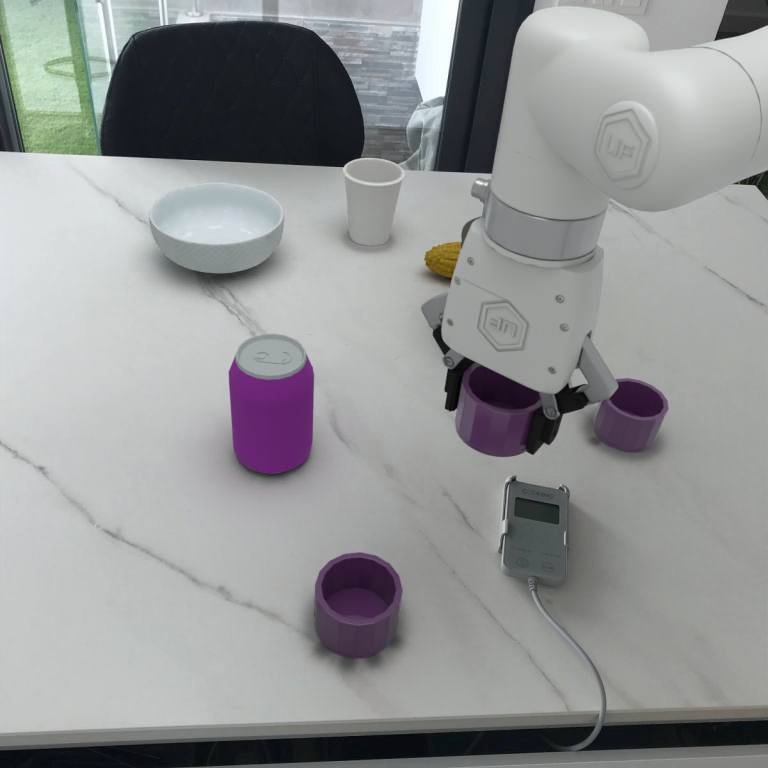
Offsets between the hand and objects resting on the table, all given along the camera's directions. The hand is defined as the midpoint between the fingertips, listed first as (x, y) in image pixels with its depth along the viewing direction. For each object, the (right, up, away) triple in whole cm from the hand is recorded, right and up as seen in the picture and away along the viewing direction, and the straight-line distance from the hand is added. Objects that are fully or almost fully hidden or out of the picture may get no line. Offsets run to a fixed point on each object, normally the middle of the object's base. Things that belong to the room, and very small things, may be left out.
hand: (497, 421), depth 61 cm
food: (+7, +17, +43) cm, 46 cm away
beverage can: (-20, -4, +15) cm, 25 cm away
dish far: (+17, -2, +21) cm, 27 cm away
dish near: (-11, -16, +1) cm, 20 cm away
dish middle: (0, -1, 0) cm, 1 cm away
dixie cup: (-11, +24, +49) cm, 56 cm away
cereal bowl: (-31, +19, +42) cm, 55 cm away
